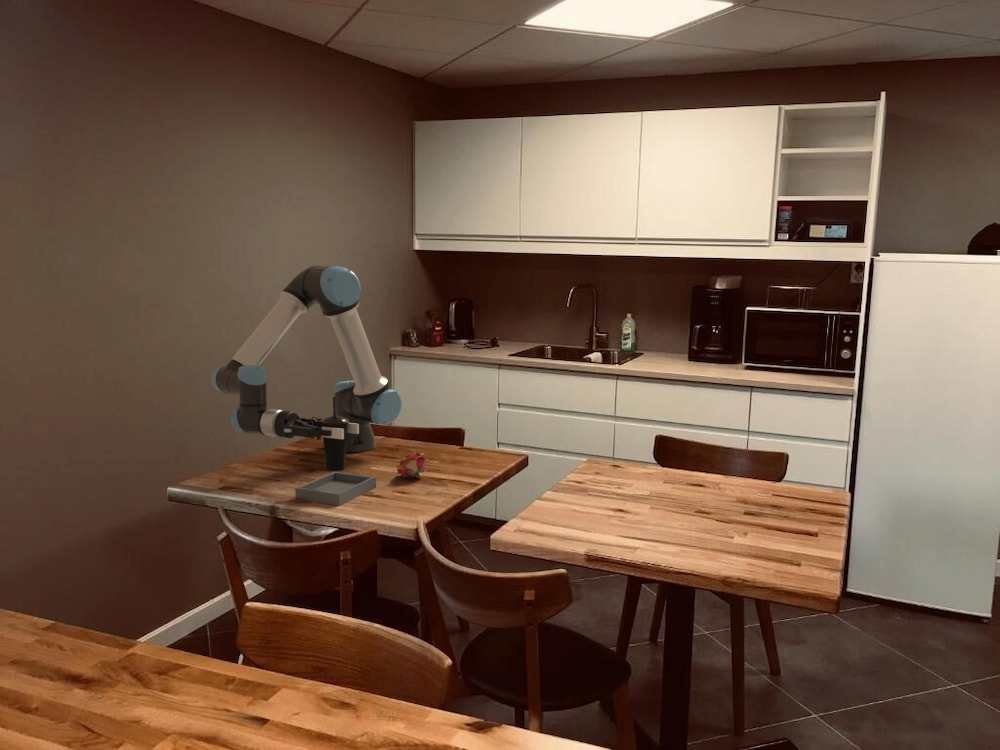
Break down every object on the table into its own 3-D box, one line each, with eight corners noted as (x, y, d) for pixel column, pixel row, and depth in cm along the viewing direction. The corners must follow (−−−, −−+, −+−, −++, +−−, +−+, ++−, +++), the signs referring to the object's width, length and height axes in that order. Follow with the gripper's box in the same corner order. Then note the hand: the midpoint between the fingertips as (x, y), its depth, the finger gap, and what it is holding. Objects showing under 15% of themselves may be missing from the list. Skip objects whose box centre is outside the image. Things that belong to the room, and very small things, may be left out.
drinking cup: (343, 473, 214) (341, 400, 211) (316, 471, 215) (315, 398, 212) (354, 466, 221) (352, 395, 218) (328, 464, 223) (326, 394, 220)
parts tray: (334, 481, 230) (334, 471, 230) (376, 487, 225) (375, 477, 224) (295, 498, 214) (295, 488, 213) (339, 505, 209) (339, 494, 208)
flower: (438, 471, 236) (427, 447, 238) (422, 472, 227) (411, 447, 230) (413, 486, 239) (402, 462, 241) (397, 488, 231) (386, 463, 233)
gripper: (303, 430, 233) (370, 437, 224) (258, 443, 215) (329, 452, 206) (302, 404, 232) (370, 411, 223) (257, 416, 214) (329, 424, 205)
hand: (350, 431), depth 215 cm, fingers closed on drinking cup, 6 cm apart
